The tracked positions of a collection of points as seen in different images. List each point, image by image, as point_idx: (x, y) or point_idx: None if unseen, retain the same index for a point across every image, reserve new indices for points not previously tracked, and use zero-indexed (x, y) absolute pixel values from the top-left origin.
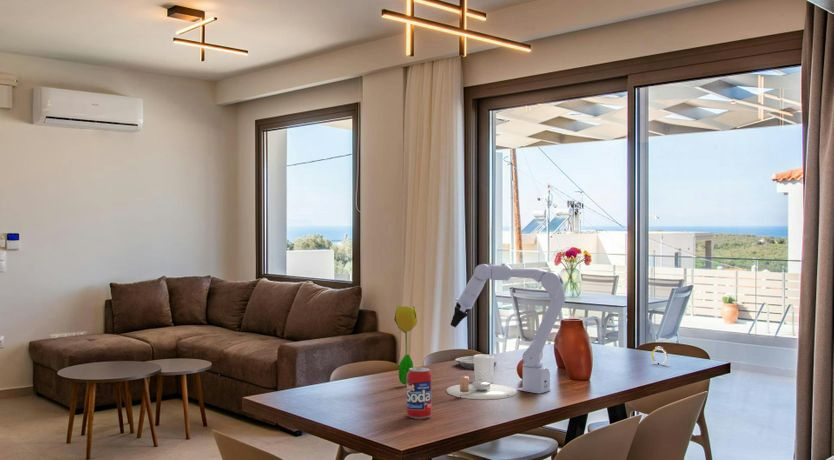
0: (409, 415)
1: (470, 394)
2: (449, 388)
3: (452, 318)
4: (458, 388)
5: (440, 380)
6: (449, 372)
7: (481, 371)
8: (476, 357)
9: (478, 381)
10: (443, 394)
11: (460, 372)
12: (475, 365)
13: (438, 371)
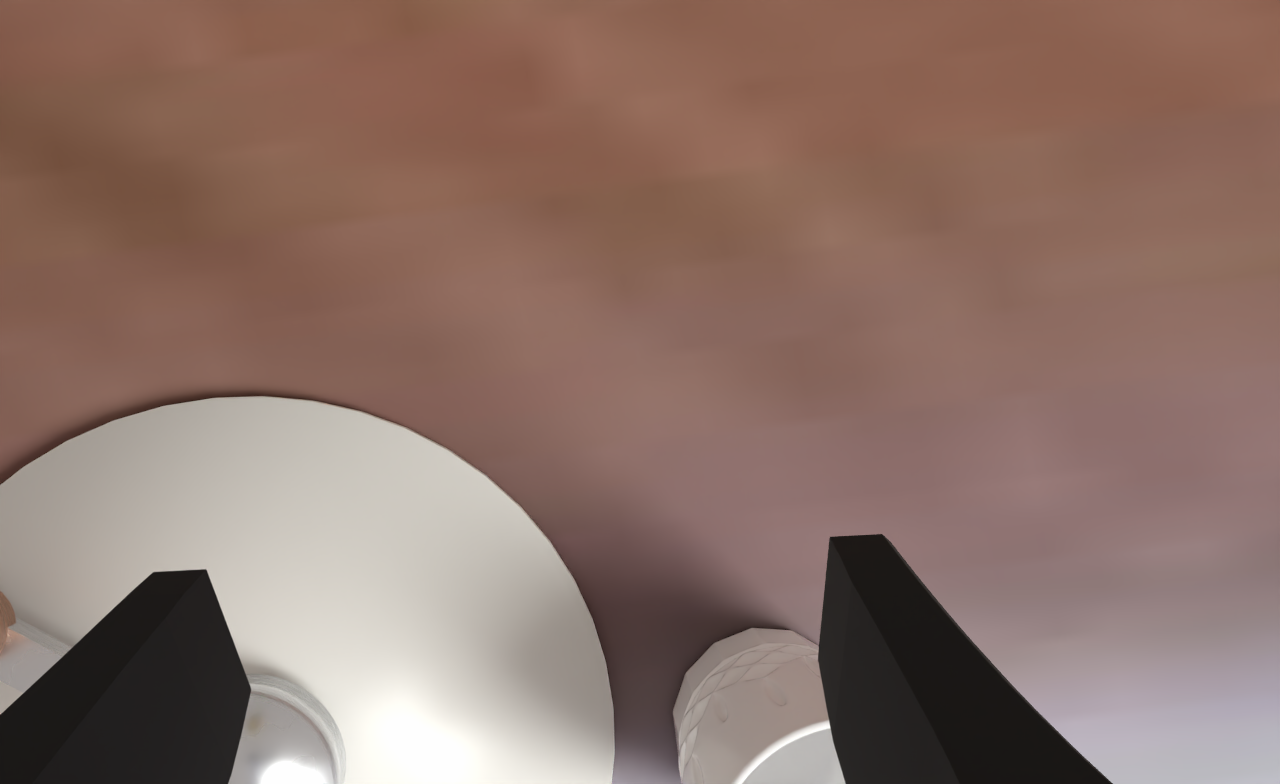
0: None
1: None
2: (283, 419)
3: (850, 576)
4: (305, 513)
5: (763, 261)
6: (1203, 302)
7: (685, 757)
8: (740, 768)
9: (295, 754)
10: (42, 385)
11: (1220, 417)
12: (739, 706)
13: (1239, 178)
